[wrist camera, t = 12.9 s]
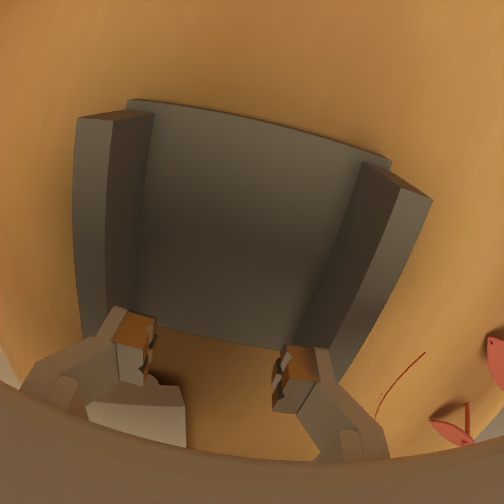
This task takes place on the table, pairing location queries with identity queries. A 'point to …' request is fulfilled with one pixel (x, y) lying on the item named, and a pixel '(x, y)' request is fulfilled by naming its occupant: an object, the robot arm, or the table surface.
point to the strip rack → (237, 228)
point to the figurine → (500, 364)
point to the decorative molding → (142, 411)
